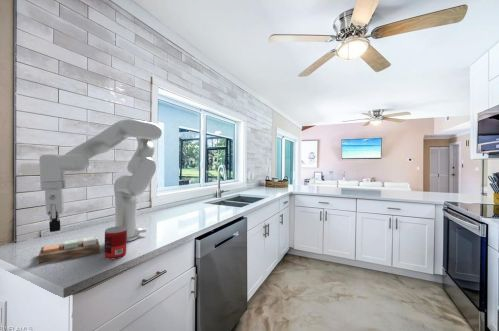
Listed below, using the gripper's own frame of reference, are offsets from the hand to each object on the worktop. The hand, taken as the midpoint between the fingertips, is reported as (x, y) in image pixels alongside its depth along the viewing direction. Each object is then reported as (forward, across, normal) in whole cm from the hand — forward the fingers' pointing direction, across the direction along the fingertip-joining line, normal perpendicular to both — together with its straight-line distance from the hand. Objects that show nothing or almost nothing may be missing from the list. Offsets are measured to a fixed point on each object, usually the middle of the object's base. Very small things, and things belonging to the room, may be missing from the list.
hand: (55, 230), depth 91 cm
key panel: (+10, 0, -5) cm, 12 cm away
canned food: (+11, -12, -19) cm, 26 cm away
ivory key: (+9, 0, -11) cm, 14 cm away
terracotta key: (+9, 0, +2) cm, 9 cm away
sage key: (+9, 0, -5) cm, 10 cm away
